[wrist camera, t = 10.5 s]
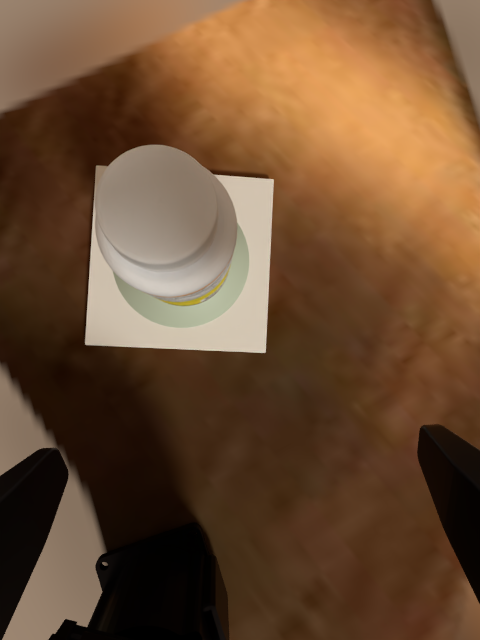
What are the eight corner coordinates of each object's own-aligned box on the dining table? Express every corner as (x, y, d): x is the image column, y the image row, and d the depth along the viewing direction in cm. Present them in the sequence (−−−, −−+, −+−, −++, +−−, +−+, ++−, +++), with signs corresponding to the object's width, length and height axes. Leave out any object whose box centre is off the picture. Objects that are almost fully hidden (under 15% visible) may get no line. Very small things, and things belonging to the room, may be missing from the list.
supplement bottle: (139, 216, 21) (69, 112, 11) (230, 219, 22) (243, 121, 11) (137, 307, 21) (64, 287, 11) (229, 308, 21) (241, 290, 11)
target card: (264, 352, 22) (265, 352, 22) (88, 344, 22) (84, 344, 21) (272, 183, 23) (273, 178, 22) (99, 169, 22) (95, 164, 21)
